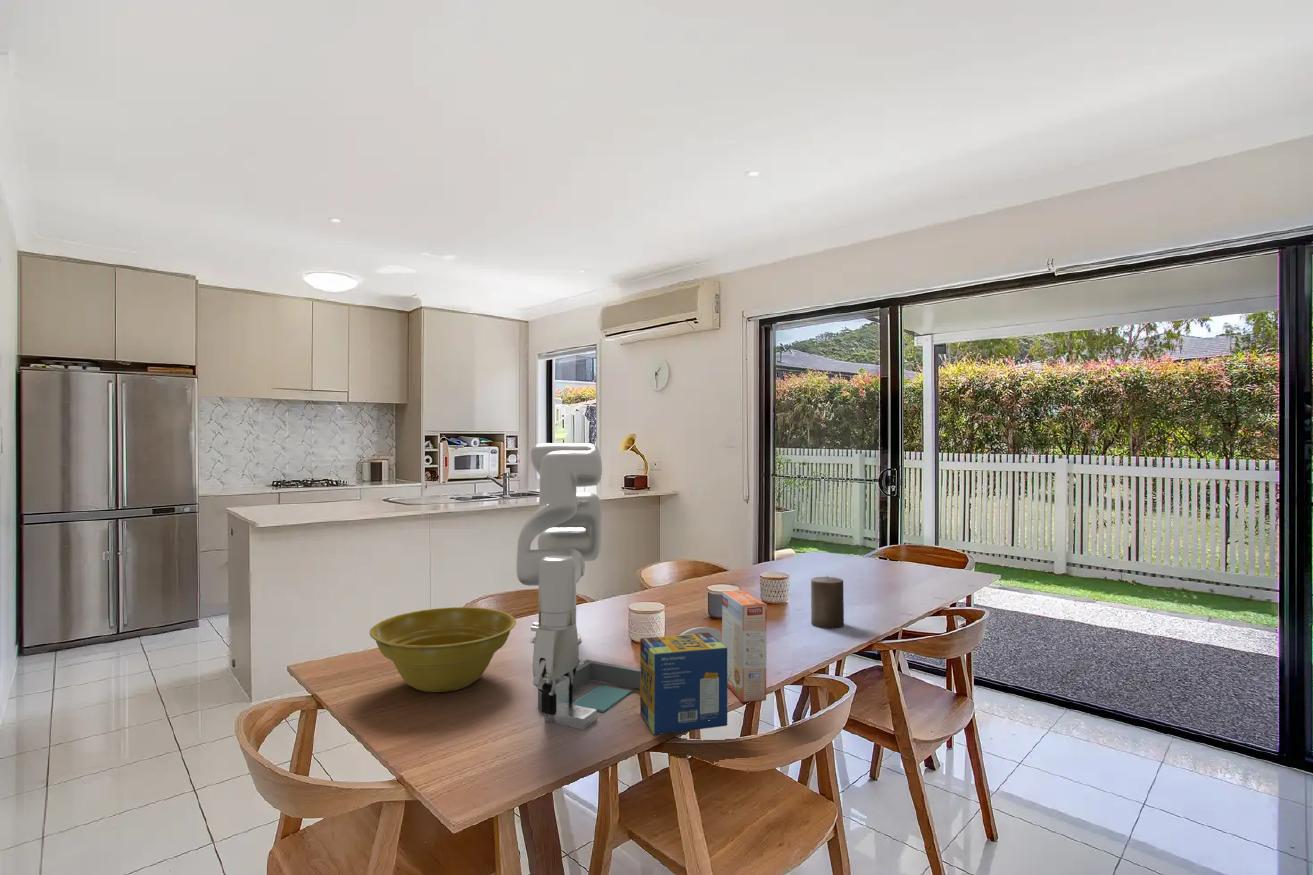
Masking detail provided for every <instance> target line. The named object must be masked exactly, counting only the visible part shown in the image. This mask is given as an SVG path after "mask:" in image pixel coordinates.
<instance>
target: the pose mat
mask: <svg viewBox="0 0 1313 875" xmlns="http://www.w3.org/2000/svg"><path fill="white" fill-rule="evenodd" d="M631 693H632V690H630V689H623V688H620V687H614V686H608V685H602V684H600V685H597V686H596V687H595V688H593V689H592V690H590V691H589V692H587V693H585V694H584V695H583V696H581V697H579V698H577V699H576V700H573V703H572V704H573V705H577V706H582V707H587V708H592V709H597V713H598V712H599V713H606V712H607V711H608V710H609V709H611V708H612V707H614V706H615V705H616V704H618V703H619V702H621V701H622V700H623V699H624V698H626V697H628V696H629V695H630V694H631ZM628 694H629V695H628ZM617 702H618V703H617Z"/></svg>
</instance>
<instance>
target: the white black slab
mask: <svg viewBox="0 0 1313 875" xmlns="http://www.w3.org/2000/svg"><path fill="white" fill-rule="evenodd" d="M707 632H709V633H710V634H711V635H712V636H713V637H714V638H716V639H717V640H718V641H719V642H720V643H722V631H720V630H719V629H718V628H715V627H706V626H701V627H693V628H689V629H686V630H683V631H681V632H679V633H677V634H676V635H685V634H697V633H707Z"/></svg>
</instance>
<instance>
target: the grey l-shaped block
mask: <svg viewBox="0 0 1313 875" xmlns="http://www.w3.org/2000/svg"><path fill="white" fill-rule="evenodd" d="M550 682H551V681H547V682H546V684H547V685H548V686H549V687H550ZM569 686H570V677H568V676H561V677H559V678H557V679H556V685H555V692H554V694H556V714H555V715H549V714H545V713H544V721H545V722H549V723H551V724H552V723H553V724H558V725H562V726H566V727H571V728H574V729H575V728H576V729H581V730H585V729H586V728H588V727H589V726H590V725H592V723H594V722H596V721H598V711H597V709H592V708H587V707H582V706H577V705H573V704H569Z"/></svg>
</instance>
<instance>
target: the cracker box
mask: <svg viewBox="0 0 1313 875" xmlns="http://www.w3.org/2000/svg"><path fill="white" fill-rule="evenodd" d="M721 597H722V598H721V599H722V600H721V601H722V604H721V610H722V611H721V612H722V614H721V618H722V619H721V620H722V621H721V625H722V626H721V635H722V644H723V645H724V646H725V647H727V688H729V690H730V691H731V692H732V693H733V694H734V695H735V696H736V697H737V699H738V700H740V701H741V703H749V702H750V703H752V702H765V701H767V629H768V628H767V624H768V622H767V621H768V620H767V614H768V613H767V612H768V611H767V610H768V609H767V608H768V607H767V606H768V605H767V603H765V602H763V601H762V600H760V599H758V598H757V597H755V596H754V595H751V593H749V592H747V591H746V590H729V591H722V596H721Z"/></svg>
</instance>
